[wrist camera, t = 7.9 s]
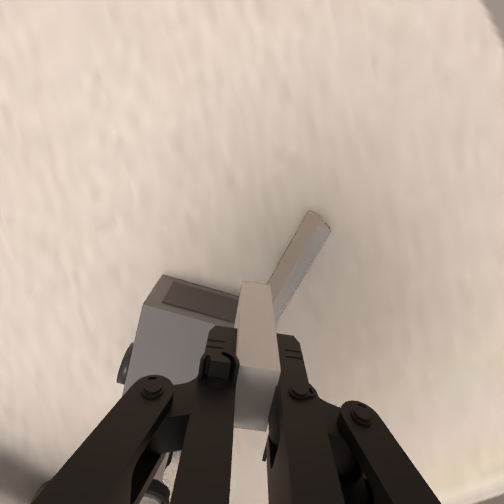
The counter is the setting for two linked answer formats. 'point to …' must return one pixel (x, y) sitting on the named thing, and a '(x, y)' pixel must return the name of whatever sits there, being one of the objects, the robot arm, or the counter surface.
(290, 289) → the door
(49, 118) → the counter surface
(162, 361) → the housing
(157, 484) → the push button
